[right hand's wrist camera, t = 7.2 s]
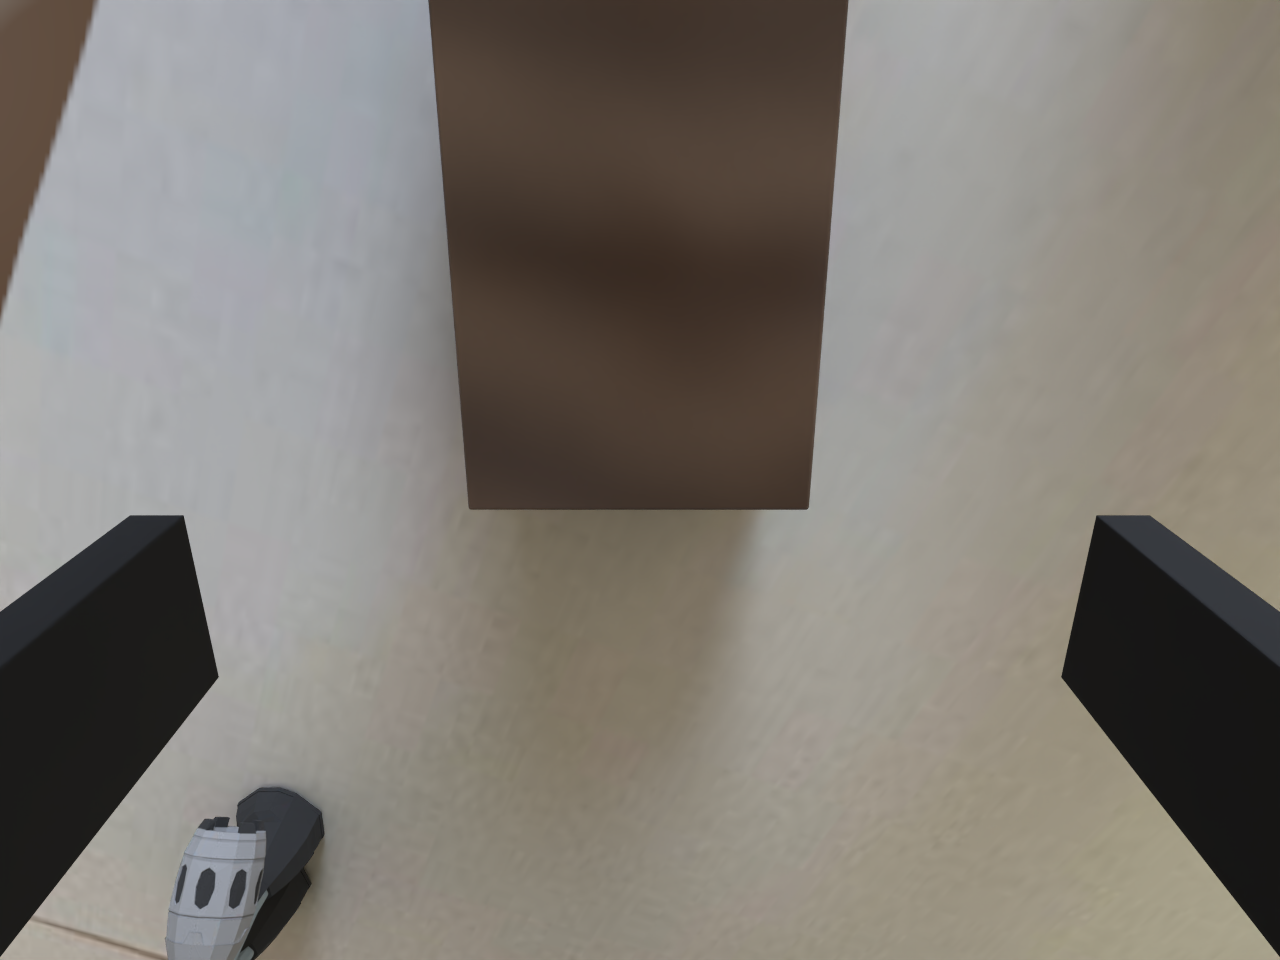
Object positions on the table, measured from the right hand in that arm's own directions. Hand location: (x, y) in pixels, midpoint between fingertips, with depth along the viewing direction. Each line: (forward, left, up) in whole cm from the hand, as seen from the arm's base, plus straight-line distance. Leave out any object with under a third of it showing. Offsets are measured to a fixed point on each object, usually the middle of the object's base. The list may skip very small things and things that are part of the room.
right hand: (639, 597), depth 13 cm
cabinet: (+3, +2, -24) cm, 24 cm away
